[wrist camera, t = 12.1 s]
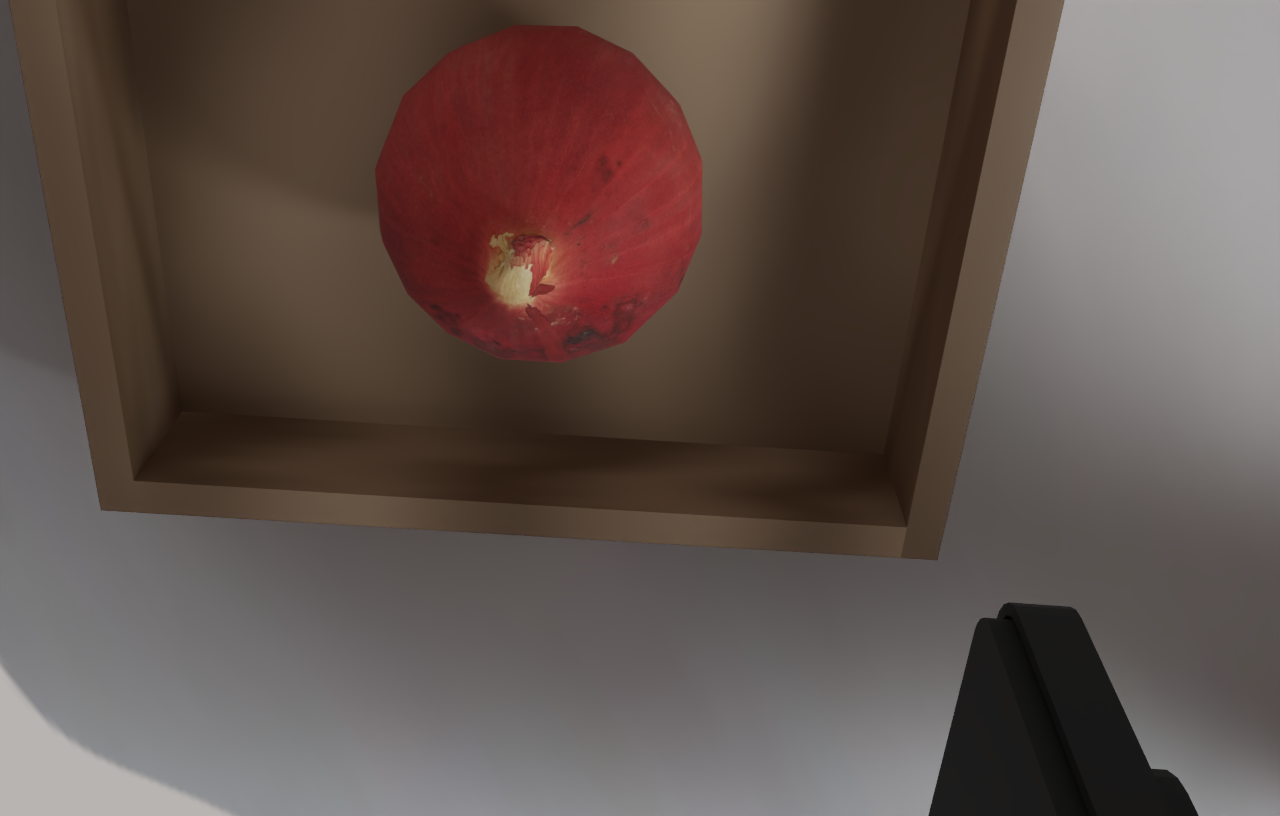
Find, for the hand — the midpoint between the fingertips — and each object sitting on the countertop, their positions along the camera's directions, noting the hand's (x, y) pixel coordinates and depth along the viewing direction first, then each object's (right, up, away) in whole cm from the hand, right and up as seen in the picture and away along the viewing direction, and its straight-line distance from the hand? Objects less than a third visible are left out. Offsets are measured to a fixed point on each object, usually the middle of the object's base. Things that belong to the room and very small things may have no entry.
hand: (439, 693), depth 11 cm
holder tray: (0, +9, +15) cm, 18 cm away
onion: (0, +8, +15) cm, 17 cm away
